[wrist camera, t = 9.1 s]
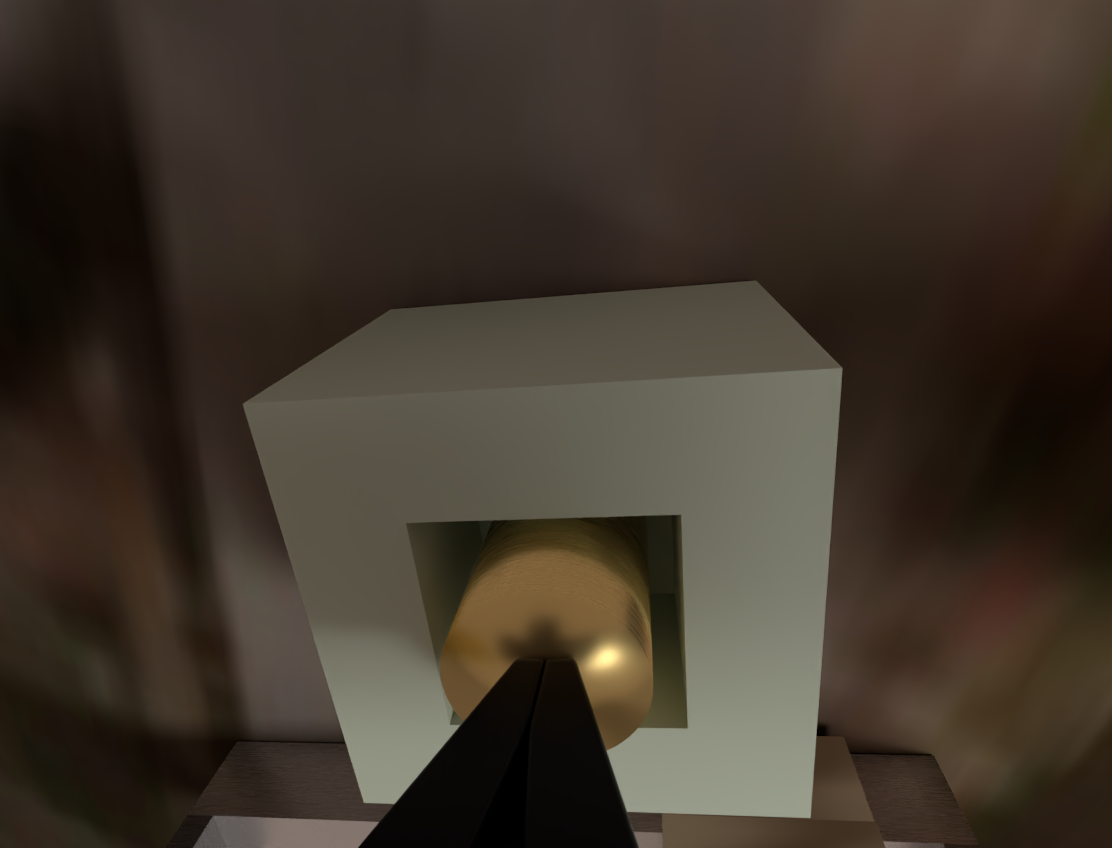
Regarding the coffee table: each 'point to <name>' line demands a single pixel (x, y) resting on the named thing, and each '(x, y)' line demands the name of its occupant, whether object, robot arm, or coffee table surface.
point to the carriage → (785, 842)
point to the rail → (345, 820)
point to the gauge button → (559, 614)
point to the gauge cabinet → (573, 516)
